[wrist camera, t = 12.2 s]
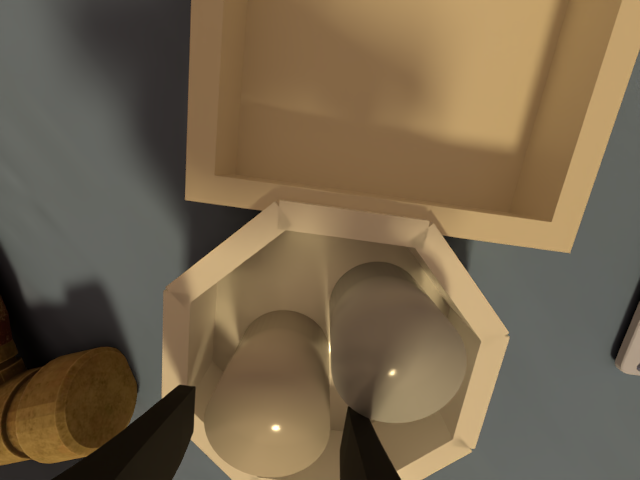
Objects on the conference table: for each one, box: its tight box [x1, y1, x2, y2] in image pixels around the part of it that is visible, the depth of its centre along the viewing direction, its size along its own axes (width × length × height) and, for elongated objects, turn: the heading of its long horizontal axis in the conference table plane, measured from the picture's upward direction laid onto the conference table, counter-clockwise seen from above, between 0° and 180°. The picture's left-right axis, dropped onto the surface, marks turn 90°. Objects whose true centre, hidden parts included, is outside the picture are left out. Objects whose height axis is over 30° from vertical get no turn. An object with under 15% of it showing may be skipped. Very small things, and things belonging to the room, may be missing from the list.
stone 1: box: [204, 310, 330, 477], centre depth 12 cm, size 4×4×4 cm
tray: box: [185, 0, 640, 253], centre depth 10 cm, size 14×15×3 cm
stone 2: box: [329, 262, 467, 423], centre depth 12 cm, size 4×4×4 cm
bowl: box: [162, 199, 510, 480], centre depth 13 cm, size 13×13×4 cm
